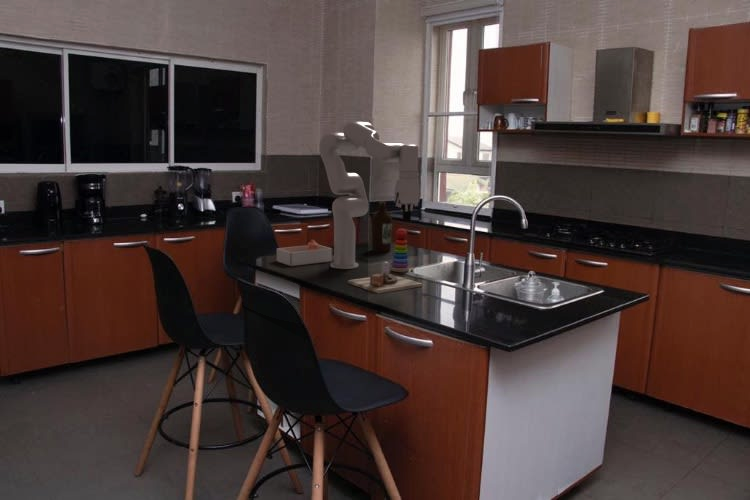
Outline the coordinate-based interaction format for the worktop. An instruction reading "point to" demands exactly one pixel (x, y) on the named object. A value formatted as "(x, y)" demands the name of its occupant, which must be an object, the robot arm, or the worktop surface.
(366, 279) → the board
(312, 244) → the pottery
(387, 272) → the grey cylinder
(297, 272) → the worktop surface
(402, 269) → the stacking toy
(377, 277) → the ring with handle
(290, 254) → the dish tray
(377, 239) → the olive oil
